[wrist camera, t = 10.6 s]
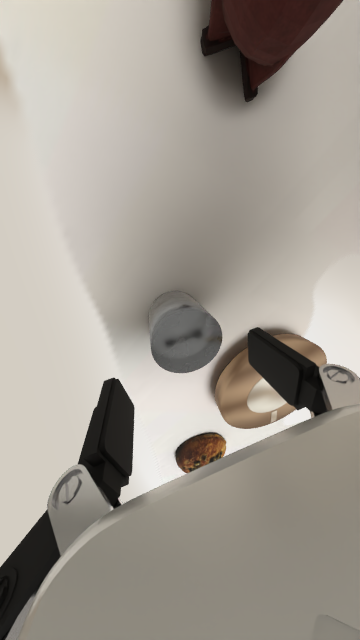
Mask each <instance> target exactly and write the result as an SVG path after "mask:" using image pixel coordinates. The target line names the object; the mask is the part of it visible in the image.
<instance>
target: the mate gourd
mask: <svg viewBox="0 0 360 640" xmlns="http://www.w3.org/2000/svg"><path fill="white" fill-rule="evenodd" d="M342 1H343V0H212V1H211V12H210V21H209V26H207V27H206V28H204V29H203V30H202V36H201V47H202V53H203V55H204V56H207V55H211V54H213V53H216V52H219V51H222V50H224V49H227V48H230V47H233V46H237V47H238V48H239V50H240V58H241V67H242V78H243V88H244V97H245V101H246V102H249V101H251V100H253V98H254V97H256V96H257V94H258V86H259V85H260V84H261V83H263V82H264V81H265V80H267V79H268V78H270V77H271V76H272V75H273V74H274V73H276V72H277V71H278V70H279V69H280V68H281V67H282V66H283V65H284V64H285V63H286V61H287V60H288V59H289V58H290V57H291V56H292V55H293V53H294V52H295V51H296V50H297V49H298V48H300V47H301V46H302V45H303V44H304V43H305V42H306V41H307V40H308V39H309V38H310V37H311V36H312V35H313V34H314V33H315V32H316V31H317V30H318V29H319V28H320V26H321V25H322V24H323V23H324V22H325V21H326V20H327V19H328V18H329V17H330V15H331V14H332V13H333V12H334V11H335V10H336V8H337V7H338V6H339V5H340V4H341V2H342Z"/></svg>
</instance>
